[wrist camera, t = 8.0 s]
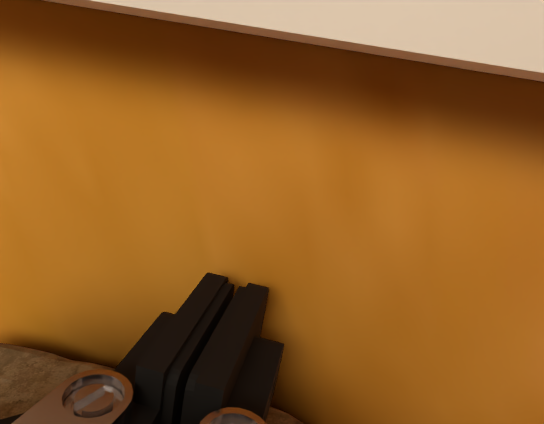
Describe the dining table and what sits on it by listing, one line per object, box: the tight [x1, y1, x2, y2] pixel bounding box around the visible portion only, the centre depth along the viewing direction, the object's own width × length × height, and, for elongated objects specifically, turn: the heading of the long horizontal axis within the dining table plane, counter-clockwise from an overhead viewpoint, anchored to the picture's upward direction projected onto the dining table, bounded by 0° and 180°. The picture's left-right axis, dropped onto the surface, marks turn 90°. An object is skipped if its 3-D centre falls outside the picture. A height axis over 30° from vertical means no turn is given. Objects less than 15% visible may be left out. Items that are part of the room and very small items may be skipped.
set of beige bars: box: [43, 0, 544, 82], centre depth 12 cm, size 22×18×3 cm
